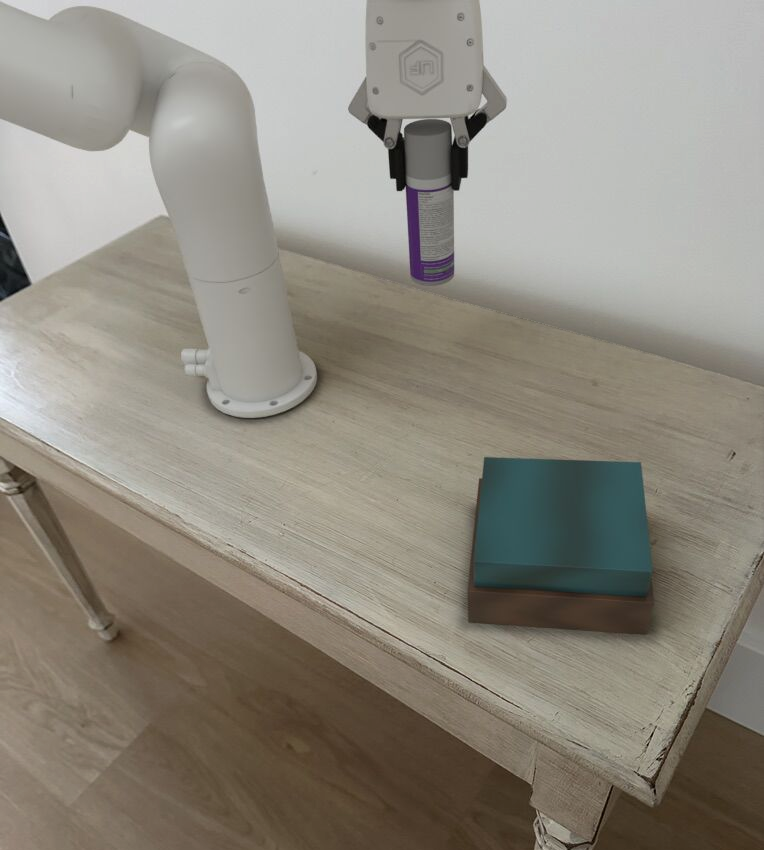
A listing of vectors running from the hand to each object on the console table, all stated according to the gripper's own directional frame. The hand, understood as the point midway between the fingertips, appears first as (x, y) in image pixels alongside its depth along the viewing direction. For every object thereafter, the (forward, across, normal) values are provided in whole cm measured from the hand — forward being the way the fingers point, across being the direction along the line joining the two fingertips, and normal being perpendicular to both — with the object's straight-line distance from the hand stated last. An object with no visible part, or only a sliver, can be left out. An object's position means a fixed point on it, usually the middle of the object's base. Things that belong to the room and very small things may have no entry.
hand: (429, 183), depth 77 cm
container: (+10, 0, 0) cm, 10 cm away
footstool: (+20, +14, -31) cm, 39 cm away
